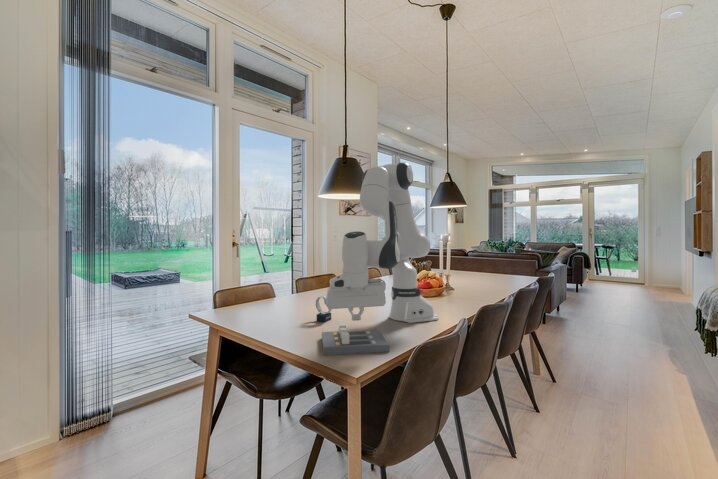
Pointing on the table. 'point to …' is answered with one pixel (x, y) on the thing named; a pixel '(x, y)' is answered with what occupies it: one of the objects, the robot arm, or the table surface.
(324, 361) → the table surface
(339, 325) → the breaker handle far
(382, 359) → the table surface
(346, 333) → the breaker handle
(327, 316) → the watch
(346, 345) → the breaker panel
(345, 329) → the breaker handle middle
